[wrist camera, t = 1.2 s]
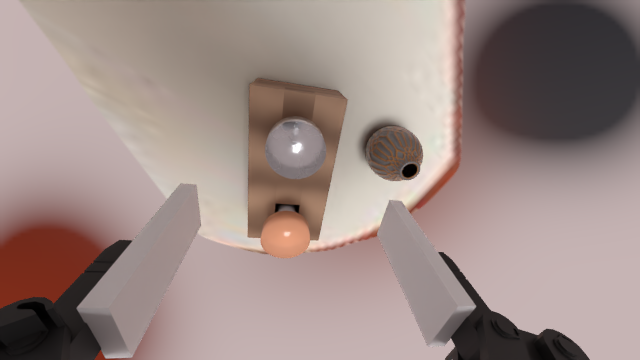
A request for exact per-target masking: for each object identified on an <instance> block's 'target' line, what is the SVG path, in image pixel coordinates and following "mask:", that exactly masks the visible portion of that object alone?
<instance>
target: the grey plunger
mask: <svg viewBox="0 0 640 360" xmlns="http://www.w3.org/2000/svg"><path fill="white" fill-rule="evenodd" d="M265 156H266V159H267V162H268V164H269V165H270V167H271V168H272V169H273V170H274V171H275V172H276V173H278V174H279V175H281V176H283V177H286V178H290V179H302V178H306V177H309V176H311V175H312V174H314V173H315V172H317V171H318V170H319V169H320V167H321V166H322V164H323V163H324V160H325V157H326V145H325V141H324V138H323V136H322V133H321V131H320V129H319V128H318V127H317V126H316V125H315V124H314V123H313V122H312V121H310V120H308V119H306V118H303V117H297V116H293V117H287V118H284V119H282V120H280V121H278V122H277V123H276V124H275V125H274V126H273V127H272V128H271V130H270V132H269V134H268V138H267V141H266V145H265Z"/></svg>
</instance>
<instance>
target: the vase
mask: <svg viewBox="0 0 640 360" xmlns="http://www.w3.org/2000/svg"><path fill="white" fill-rule="evenodd" d="M366 158H367V162H368V164H369V166H370V167H371V169H372V170H373V171H374V172H375V173H376V174H377V175H378V176H380V177H382V178H384V179H386V180H390V181H401V180H411V179H413V178H415V177H416V176H417V175H418V174H419V172H420V166H421V163H422V160H423V150H422V146H421V144H420V142H419V140H418V138H417V137H416V136H415V135H414V134H413V133H412V132H410V131H409V130H407V129H405V128H402V127H398V126H387V127H384V128H381V129H379V130H377V131H376V132H375V133H374V134H373V135H372V136H371V137H370V139H369V141H368V143H367V146H366Z"/></svg>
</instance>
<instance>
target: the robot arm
mask: <svg viewBox="0 0 640 360" xmlns="http://www.w3.org/2000/svg"><path fill="white" fill-rule="evenodd" d="M200 226H201V220H200V211H199V203H198V194H197V185H194V184H180V185H179V186H178V187H177V188H176V190H175V191H174V192H173V193H172V194H171V196H170V197H169V198H168V199H167V200H166V202H165V203H164V204H163V205H162V206H161V208H160V209H159V210H158V211H157V212H156V214H155V215H154V216H153V217H152V218H151V220H150V221H149V222H148V223H147V224H146V226H145V227H144V228H143V229H142V230H141V232H140V233H139V234H138V235H137V236H136V237H135V239H134V240H133V241H131V240H119V241H117V242H116V243H114V244H113V245H111V246H109V247H108V248H106V249H105V250H104V251H103V252H102V253H101V254H100V255H99V256H98V257H97V258H96V259H95V260H94V263H93V264H92V263H91V265H90V266H89V267H88V268H87V269H86V270H85V272H84V273H82V274H81V275H80V276H79V277H78V278H77V279H76V280H75V282H74V283H73V284H72V285H71V286H70V287H69V288H68V289H67V290H66V291H65V292H64V293H63V294H62V295H61V297H60V298H59V299H58V300H57V301H56V302H55V303H54V304H53V303H52V301H50V300H48V299H47V298H45V297H43V298H42V297H33V298H29V299H24V300H20V301H17V302H14V303H12V304H10V305H7V306H5V307H3V308H1V309H0V360H94V359H95V358H96V356H97V354H98V353H99V351H100V350H101V351H102V353H103V355H104V356H105V358H131V357H132V356H133V354H134V353H135V351H136V349H137V347H138V345H139V343H140V341H141V339H142V337H143V335H144V333H145V331H146V329H147V328H148V326H149V324H150V322H151V320H152V318H153V316H154V314H155V312H156V310H157V308H158V306H159V305H160V303H161V301H162V299H163V297H164V295H165V293H166V291H167V289H168V287H169V285H170V284H171V282H172V280H173V278H174V276H175V274H176V272H177V270H178V268H179V266H180V264H181V263H182V260H183V259H184V257H185V255H186V253H187V251H188V249H189V247H190V245H191V243H192V241H193V239H194V237H195V236H196V234H197V232H198V230H199V228H200ZM377 235H378V238H379V239H380V242H381V244H382V246H383V249H384V251H385V253H386V255H387V257H388V259H389V262H390V264H391V266H392V268H393V271H394V273H395V275H396V277H397V279H398V282H399V284H400V286H401V288H402V290H403V293H404V295H405V297H406V299H407V301H408V303H409V306H410V308H411V310H412V312H413V314H414V317H415V319H416V321H417V323H418V326H419V328H420V330H421V332H422V334H423V337H424V339H425V341H426V343H427V345H428V346H445V344H446V343H447V342H448V341H449V340H450V338H451V339H452V341H453V343H454V344H455V348H454V349H453V350H452V351H451V352H450V353H449V355H448V356H447V357H446V358H445V360H452V359H453V360H590V359H589V358H588V357H587V355H586V354H585V353H584V352H583V350H582V349H581V348H580V347H579V346H578V345H577V344H576V343H574V342H573V341H572V340H571V339H569V338H568V337H566V336H565V335H563V334H562V333H560V332H557V331H555V330H552V329H546V330H544V331H543V332H541V333H540V334H539V335H535V334H532V333H529V332H526V331H522V330H519V329H518V328H517V327H516V326H515V325H514V324H513V323H512V322H511V321H510V320H509V319H507V318H506V317H504V316H503V315H501V314H499V313H496V312H493V311H491V310H490V309H489V308H488V307H487V305H486V304H485V303H484V301H483V300H482V299H481V297H480V296H479V295H478V293H477V292H476V291H475V289H474V288H473V287H472V285H471V284H470V283H469V281H468V280H466V277H465V276H464V275H463V273H462V272H460V270H459V268H458V267H457V266H456V264H455V263H454V262H453V260H452V259H450V258H449V257H448V256H447V255H446V254H444V253H443V252H437V250H436V249H435V248H434V246H433V245H432V243H431V242H430V241H429V239H428V238H427V237H426V235H425V234H424V232H423V231H422V229H421V228H420V227H419V225H418V224H417V222H416V221H415V220H414V219H413V217H412V215H411V214H410V213H409V211H408V210H407V208H406V207H405V206H404V204H403V203H402V201H395V200H389V203H388V206H387V208H386V211H385V214H384V217H383V219H382V222H381V225H380V227H379V230H378V233H377Z"/></svg>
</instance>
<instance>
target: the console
mask: <svg viewBox="0 0 640 360" xmlns="http://www.w3.org/2000/svg"><path fill="white" fill-rule="evenodd" d="M346 105H347V99H346V98H345V97H344V96H343V95H342V94H341V93H340V92H339V91H336V90H329V89H323V88H317V87H310V86H304V85H298V84H291V83H285V82H279V81H272V80H266V79H260V78H257V79H256V80H255V81H253V82H252V83H251V84H250V85H249V164H248V237H251V238H261V234H262V229H263V224H264V222H265V220H266V219H267V218H268V217H269V216H270V215H272V214H274V213H276V212H278V205H279V204H292V205H295V206H296V213H299V214H300V215H302V216H303V217H304V218H305V219H306V220H307V222H308V225H309V233H310V240H318V239H319V235H320V230H321V225H322V220H323V215H324V211H325V206H326V201H327V196H328V191H329V187H330V182H331V177H332V172H333V168H334V163H335V158H336V153H337V148H338V144H339V139H340V134H341V129H342V124H343V120H344V115H345V110H346ZM293 116H297V117H303V118H306V119H308V120H310V121H312V122H313V123H314V124H315V125H316V126H317V127H318V128H319V129H320V131H321V133H322V136H323V138H324V141H325V145H326V157H325V160H324V163H323V164H322V166H321V167H320V169H319V170H318V171H317V172H315V173H314V174H312V175H311V176H309V177H306V178H302V179H290V178H286V177H283V176H281V175H279V174H278V173H276V172H275V171H274V170H273V169H272V168H271V167H270V165H269V164H268V162H267V159H266V156H265V145H266V141H267V138H268V134H269V132H270V130H271V128H272V127H273V126H274V125H275V124H276V123H277V122H278V121H280V120H282V119H284V118H287V117H293Z"/></svg>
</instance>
